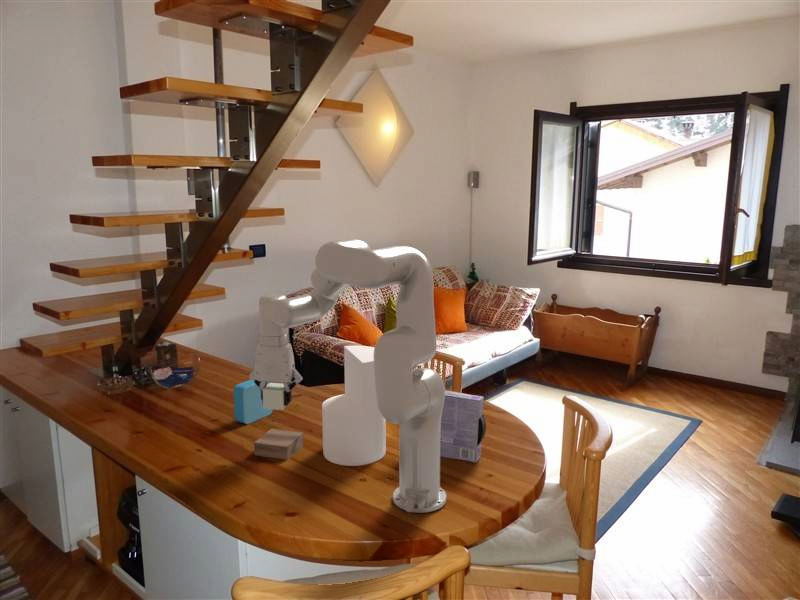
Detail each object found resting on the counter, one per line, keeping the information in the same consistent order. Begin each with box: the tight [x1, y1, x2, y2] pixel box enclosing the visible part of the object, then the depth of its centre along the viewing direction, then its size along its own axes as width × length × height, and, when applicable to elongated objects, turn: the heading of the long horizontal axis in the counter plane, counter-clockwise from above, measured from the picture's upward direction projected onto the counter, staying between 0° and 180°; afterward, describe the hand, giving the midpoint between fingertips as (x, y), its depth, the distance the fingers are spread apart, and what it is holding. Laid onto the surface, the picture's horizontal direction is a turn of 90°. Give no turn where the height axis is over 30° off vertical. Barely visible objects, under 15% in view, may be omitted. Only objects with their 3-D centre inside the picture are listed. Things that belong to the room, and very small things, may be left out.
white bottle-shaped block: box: [321, 345, 387, 467], centre depth 165 cm, size 17×17×28 cm
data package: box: [233, 379, 274, 425], centre depth 191 cm, size 12×4×12 cm, turn 146°
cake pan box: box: [440, 390, 487, 464], centre depth 164 cm, size 19×5×18 cm, turn 68°
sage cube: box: [263, 382, 287, 411], centre depth 167 cm, size 6×6×6 cm
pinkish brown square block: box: [253, 428, 305, 460], centre depth 169 cm, size 10×10×4 cm
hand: (276, 402), depth 167 cm, fingers closed on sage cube, 5 cm apart
